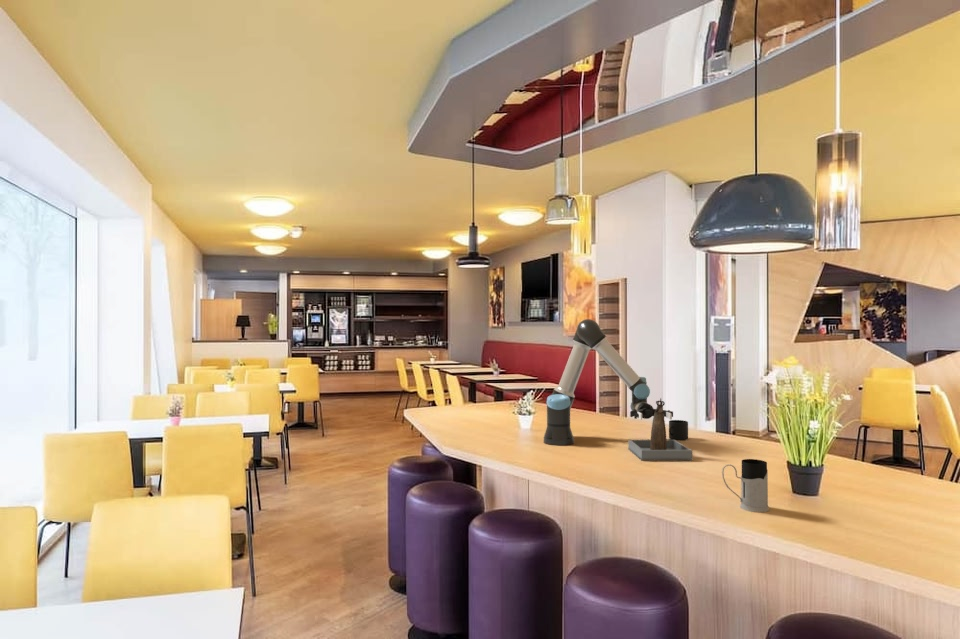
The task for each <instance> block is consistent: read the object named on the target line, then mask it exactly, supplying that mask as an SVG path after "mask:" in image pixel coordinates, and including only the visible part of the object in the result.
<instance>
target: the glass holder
mask: <svg viewBox="0 0 960 639" xmlns="http://www.w3.org/2000/svg"><path fill="white" fill-rule="evenodd" d="M726 467H733V469H734V471H735V473H734V474H735V477H736V478H737V479H740V486H741V487H740V490H741V492H740V493H741V494H740V495H738V494H737V493H736V492H734V491H733V490H732V489H731V488H730V487H729V486H728V484H727V482H726V479H725V475H724V473H725V472H724V470H725V469H726ZM768 474H769V473H768V462H767V461H765V460H762V459H756V458H755V459H754V458H744V459H742V460H741V475H740V476H738V471H737V468H736V466H734V465H733V464H725V465H724V466H723V467H722V472H721V475H722V479H723V483H724V485H725V486H726V488H727V489H728V490H729V491H730V492H731V493H732V494H734V495H735V496H736V497H738V499H739V500H740V504H739V508H740V509H742V510H744V511H747V512H751V513H767V512H769V511H770V508H769V499H768V498H769V495H768V493H769V491H768V490H769V488H768V485H769V484H768V478H769V477H768V476H769V475H768ZM740 496H741V497H740Z"/></svg>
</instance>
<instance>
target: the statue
mask: <svg viewBox="0 0 960 639" xmlns="http://www.w3.org/2000/svg"><path fill="white" fill-rule="evenodd" d="M655 404H656V405H657V406H656V408H655V409H656V411H655V413H654V416H652V417H653V419H652V423H651V428H650V429H651V431H650V440H651V444H650V450H667V447H666V444H667V442H666V440H667V430H666V423H665V422H666V421H665V417H664V414H663V413H662V411H663V410H664V406H665V401H663V400H662V397H660V400H656V401H655Z"/></svg>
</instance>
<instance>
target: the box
mask: <svg viewBox="0 0 960 639" xmlns="http://www.w3.org/2000/svg"><path fill="white" fill-rule="evenodd" d="M627 441H628V444H627V445H628V450H629V451H630V452H631V453H632V454H633V455H635V457H636V458H638V459H639V460H640V461H641V462H642V461H643V462H646V461H647V462H649V461H650V462H653V461H654V462H660V461H663V462H665V461H666V462H676V461H677V462H679V461H681V462H683V461H684V462H685V461H686V462H687V461H688V462H689V461H693V449H691V448H690V447H688V446H686V445H684V444H682V443H680V442H679V440H672V439H666V442H667V444H666V447H667V450H650V444H651V439H628V440H627Z"/></svg>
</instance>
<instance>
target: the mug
mask: <svg viewBox="0 0 960 639" xmlns="http://www.w3.org/2000/svg"><path fill="white" fill-rule="evenodd" d="M688 439H689V421H687V420H682V419H680V420H679V419H672V420H670V419H669V420H668V440H676V441H678V442H679V441H680V442H681V441H688Z"/></svg>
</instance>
